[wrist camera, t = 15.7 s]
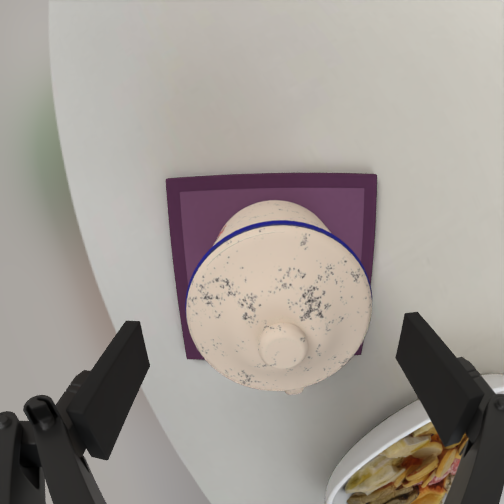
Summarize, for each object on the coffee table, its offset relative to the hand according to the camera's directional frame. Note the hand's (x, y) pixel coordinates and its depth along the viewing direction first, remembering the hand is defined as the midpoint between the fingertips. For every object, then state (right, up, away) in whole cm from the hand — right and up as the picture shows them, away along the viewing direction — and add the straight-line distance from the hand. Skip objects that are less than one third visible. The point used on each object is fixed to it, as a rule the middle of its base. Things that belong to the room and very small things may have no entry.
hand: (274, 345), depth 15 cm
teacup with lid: (+1, +3, +9) cm, 9 cm away
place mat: (+1, +3, +9) cm, 10 cm away
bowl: (+22, -22, +16) cm, 35 cm away
